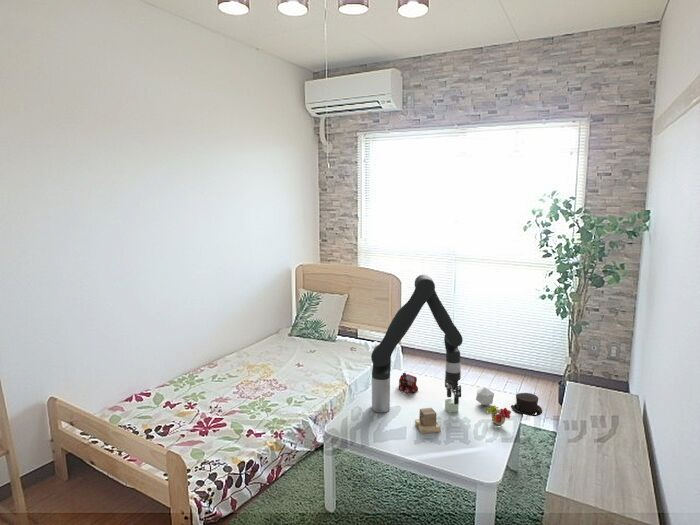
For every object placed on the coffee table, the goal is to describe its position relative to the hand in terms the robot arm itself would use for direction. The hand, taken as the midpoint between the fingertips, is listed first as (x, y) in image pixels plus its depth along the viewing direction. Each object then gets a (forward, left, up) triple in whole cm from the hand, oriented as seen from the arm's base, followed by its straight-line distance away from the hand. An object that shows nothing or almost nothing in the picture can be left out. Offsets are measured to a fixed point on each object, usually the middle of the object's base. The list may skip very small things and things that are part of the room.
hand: (452, 400), depth 231 cm
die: (-1, +19, -6) cm, 20 cm away
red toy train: (-27, -14, -6) cm, 31 cm away
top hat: (+7, +37, -6) cm, 39 cm away
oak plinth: (+15, -19, -5) cm, 25 cm away
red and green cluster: (+18, +15, -6) cm, 25 cm away
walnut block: (+15, -19, -3) cm, 24 cm away
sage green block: (0, 0, -6) cm, 6 cm away
